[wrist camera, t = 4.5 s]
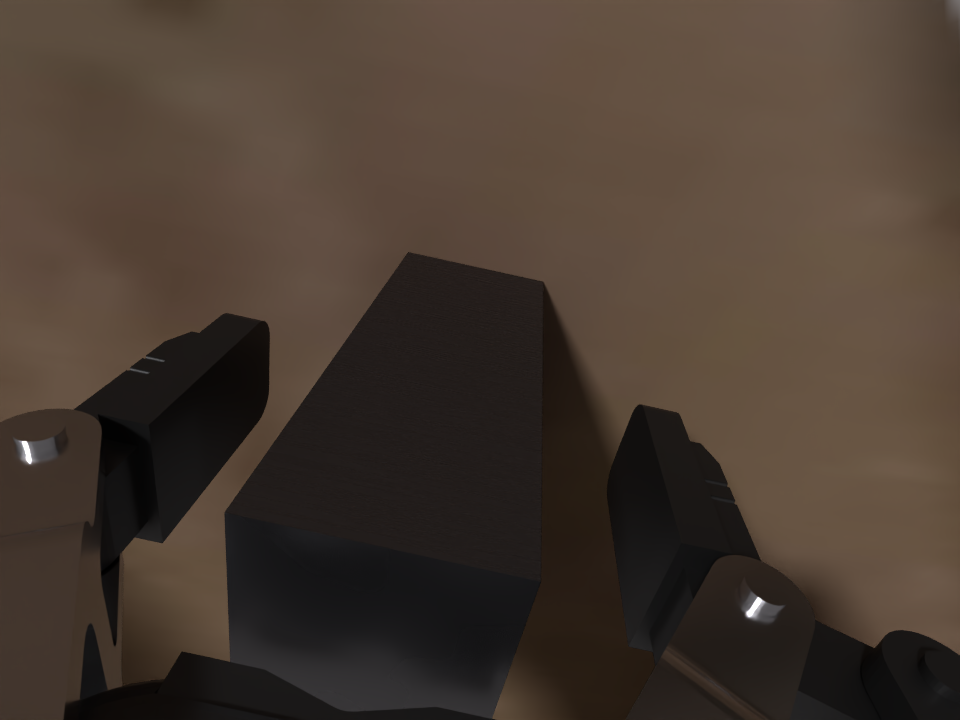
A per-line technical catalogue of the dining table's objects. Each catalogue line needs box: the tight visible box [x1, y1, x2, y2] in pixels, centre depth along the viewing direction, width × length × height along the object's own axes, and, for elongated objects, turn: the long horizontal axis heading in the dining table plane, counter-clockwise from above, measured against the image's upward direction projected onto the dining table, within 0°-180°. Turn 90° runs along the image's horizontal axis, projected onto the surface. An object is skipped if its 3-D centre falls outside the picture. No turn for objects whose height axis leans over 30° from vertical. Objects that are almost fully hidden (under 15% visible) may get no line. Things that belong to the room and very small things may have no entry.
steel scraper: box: [225, 252, 543, 719], centre depth 13 cm, size 18×6×8 cm, turn 169°
